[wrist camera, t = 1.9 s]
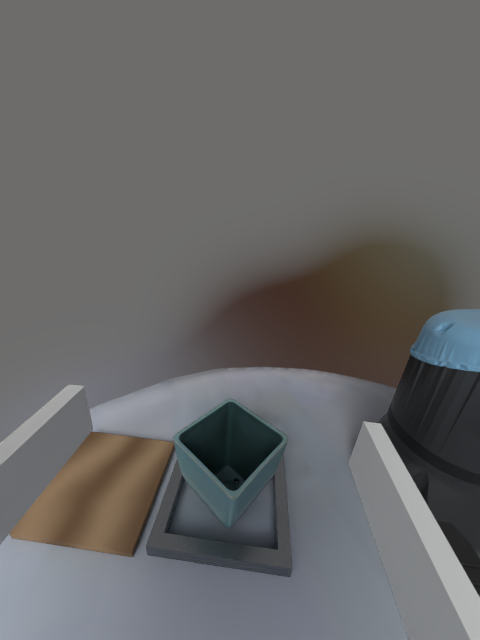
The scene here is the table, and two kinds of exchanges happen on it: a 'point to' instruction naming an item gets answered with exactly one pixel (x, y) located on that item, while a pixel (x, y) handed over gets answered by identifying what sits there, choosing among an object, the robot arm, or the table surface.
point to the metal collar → (218, 550)
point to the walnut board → (99, 495)
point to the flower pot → (229, 458)
